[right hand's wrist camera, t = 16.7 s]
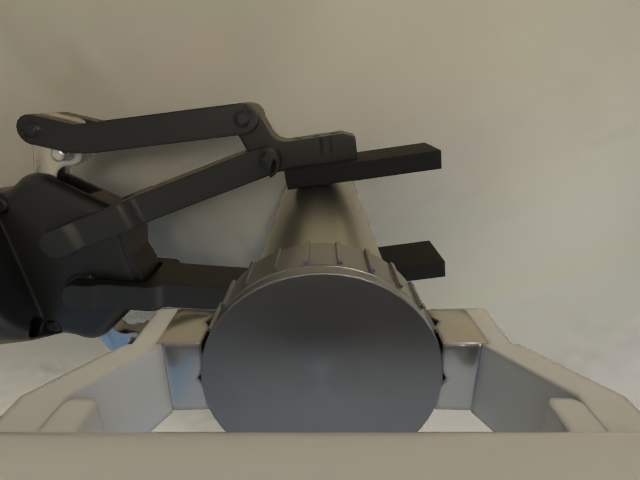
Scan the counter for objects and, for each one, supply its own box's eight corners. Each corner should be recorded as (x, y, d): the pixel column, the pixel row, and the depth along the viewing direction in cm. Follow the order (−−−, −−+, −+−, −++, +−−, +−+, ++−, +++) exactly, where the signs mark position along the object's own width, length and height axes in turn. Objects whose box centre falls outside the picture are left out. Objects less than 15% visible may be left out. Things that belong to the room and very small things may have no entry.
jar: (280, 214, 25) (215, 417, 10) (294, 149, 24) (246, 262, 8) (344, 229, 26) (383, 448, 10) (362, 166, 24) (441, 305, 8)
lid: (386, 435, 11) (397, 490, 10) (200, 395, 11) (179, 447, 9) (459, 270, 9) (487, 306, 8) (239, 213, 9) (221, 239, 7)
